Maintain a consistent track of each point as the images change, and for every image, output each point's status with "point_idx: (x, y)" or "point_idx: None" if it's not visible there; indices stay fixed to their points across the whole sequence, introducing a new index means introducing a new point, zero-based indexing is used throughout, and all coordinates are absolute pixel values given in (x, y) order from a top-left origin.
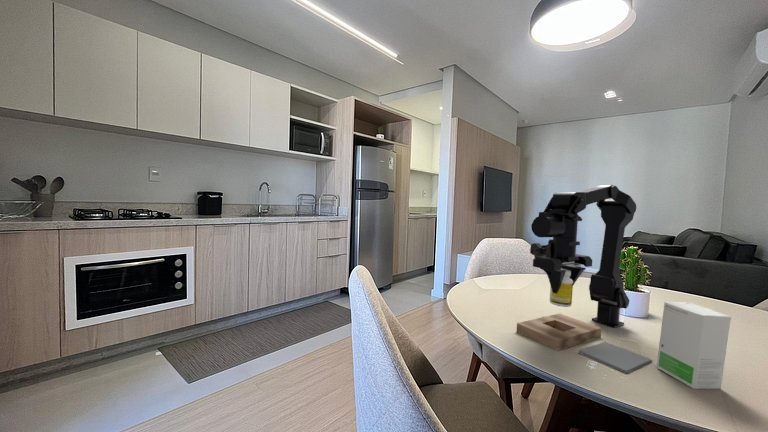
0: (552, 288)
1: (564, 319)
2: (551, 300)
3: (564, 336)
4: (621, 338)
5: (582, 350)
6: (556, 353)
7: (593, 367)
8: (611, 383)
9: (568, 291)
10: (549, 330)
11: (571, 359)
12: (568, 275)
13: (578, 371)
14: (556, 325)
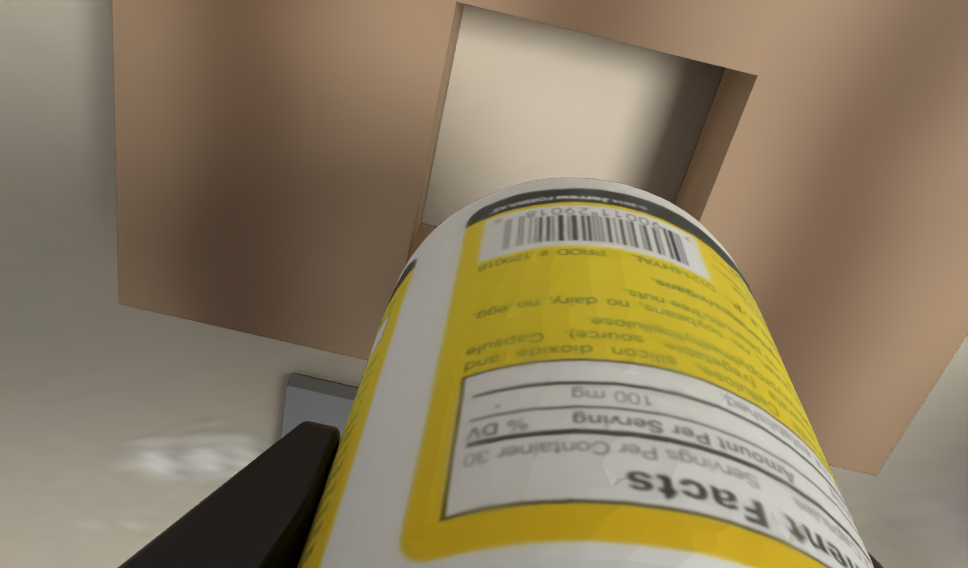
0: (240, 493)
1: (888, 153)
2: (405, 272)
3: (282, 313)
4: (940, 519)
5: (313, 400)
6: (105, 268)
7: (159, 473)
8: (68, 555)
9: None
10: (293, 163)
11: (125, 365)
12: None
13: (8, 429)
14: (734, 80)
